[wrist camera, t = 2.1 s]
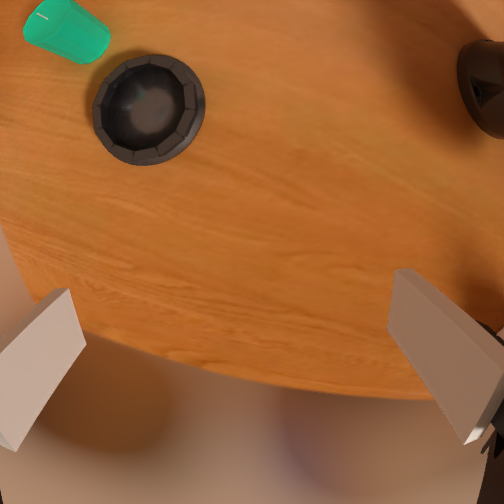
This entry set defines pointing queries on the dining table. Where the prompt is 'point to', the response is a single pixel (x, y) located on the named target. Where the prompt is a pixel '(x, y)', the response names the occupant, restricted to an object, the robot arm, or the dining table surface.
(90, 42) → the candle
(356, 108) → the dining table surface
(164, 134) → the candle cup
